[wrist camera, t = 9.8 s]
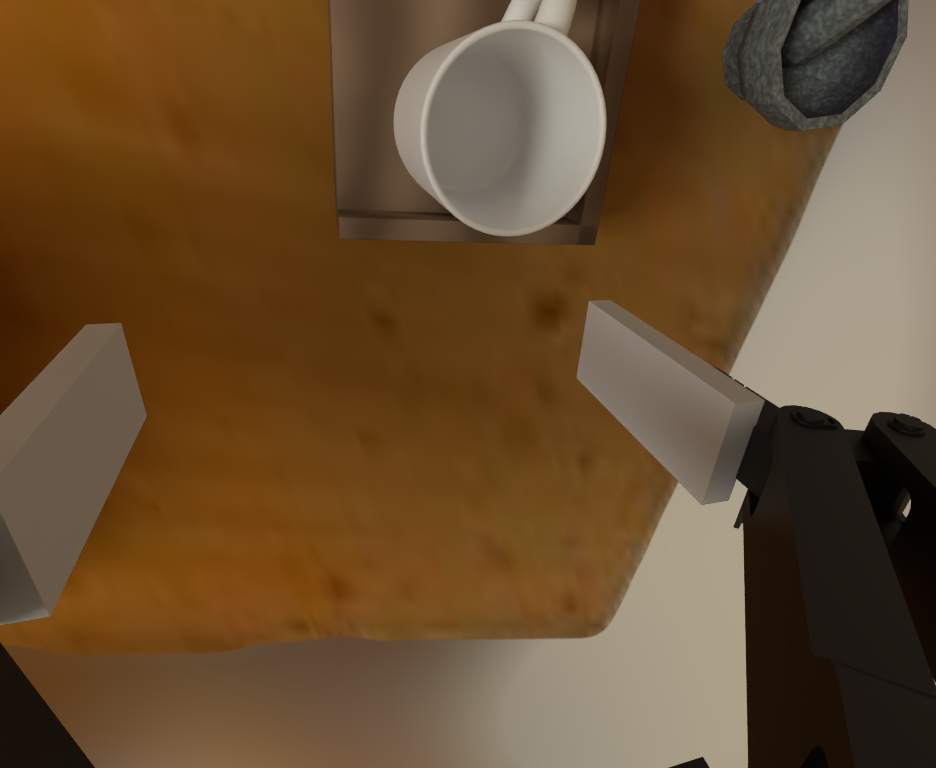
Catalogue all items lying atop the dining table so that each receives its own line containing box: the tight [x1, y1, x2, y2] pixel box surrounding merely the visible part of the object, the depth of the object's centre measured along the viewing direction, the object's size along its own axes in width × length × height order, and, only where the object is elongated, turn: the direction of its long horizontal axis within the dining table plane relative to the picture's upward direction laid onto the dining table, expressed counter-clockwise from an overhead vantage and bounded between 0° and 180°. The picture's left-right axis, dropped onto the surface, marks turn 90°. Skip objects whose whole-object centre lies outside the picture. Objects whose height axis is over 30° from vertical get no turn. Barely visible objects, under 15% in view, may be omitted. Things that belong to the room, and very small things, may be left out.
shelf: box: [328, 0, 641, 245], centre depth 32 cm, size 16×15×8 cm
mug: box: [393, 0, 606, 237], centre depth 26 cm, size 12×8×10 cm
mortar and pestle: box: [722, 0, 908, 131], centre depth 33 cm, size 11×9×12 cm
